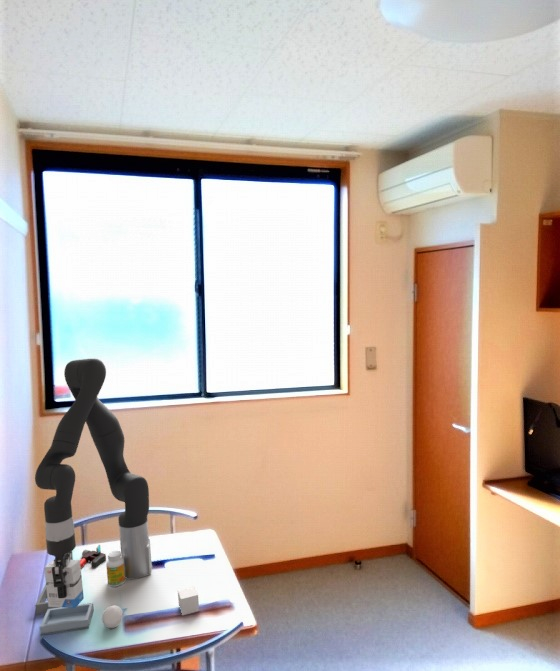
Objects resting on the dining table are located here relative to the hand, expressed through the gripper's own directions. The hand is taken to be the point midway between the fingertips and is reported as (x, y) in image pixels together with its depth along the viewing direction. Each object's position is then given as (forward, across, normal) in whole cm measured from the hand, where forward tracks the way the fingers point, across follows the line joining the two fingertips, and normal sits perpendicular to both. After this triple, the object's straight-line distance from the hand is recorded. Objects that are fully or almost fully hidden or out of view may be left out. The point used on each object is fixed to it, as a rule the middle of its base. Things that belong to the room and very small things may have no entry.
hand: (65, 590), depth 151 cm
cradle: (+9, -13, -6) cm, 17 cm away
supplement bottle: (+10, -19, +11) cm, 24 cm away
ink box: (+4, 0, 0) cm, 4 cm away
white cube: (+10, +2, +34) cm, 35 cm away
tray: (+9, 0, 0) cm, 9 cm away
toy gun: (+10, -36, -1) cm, 37 cm away
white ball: (+10, +4, +13) cm, 17 cm away
